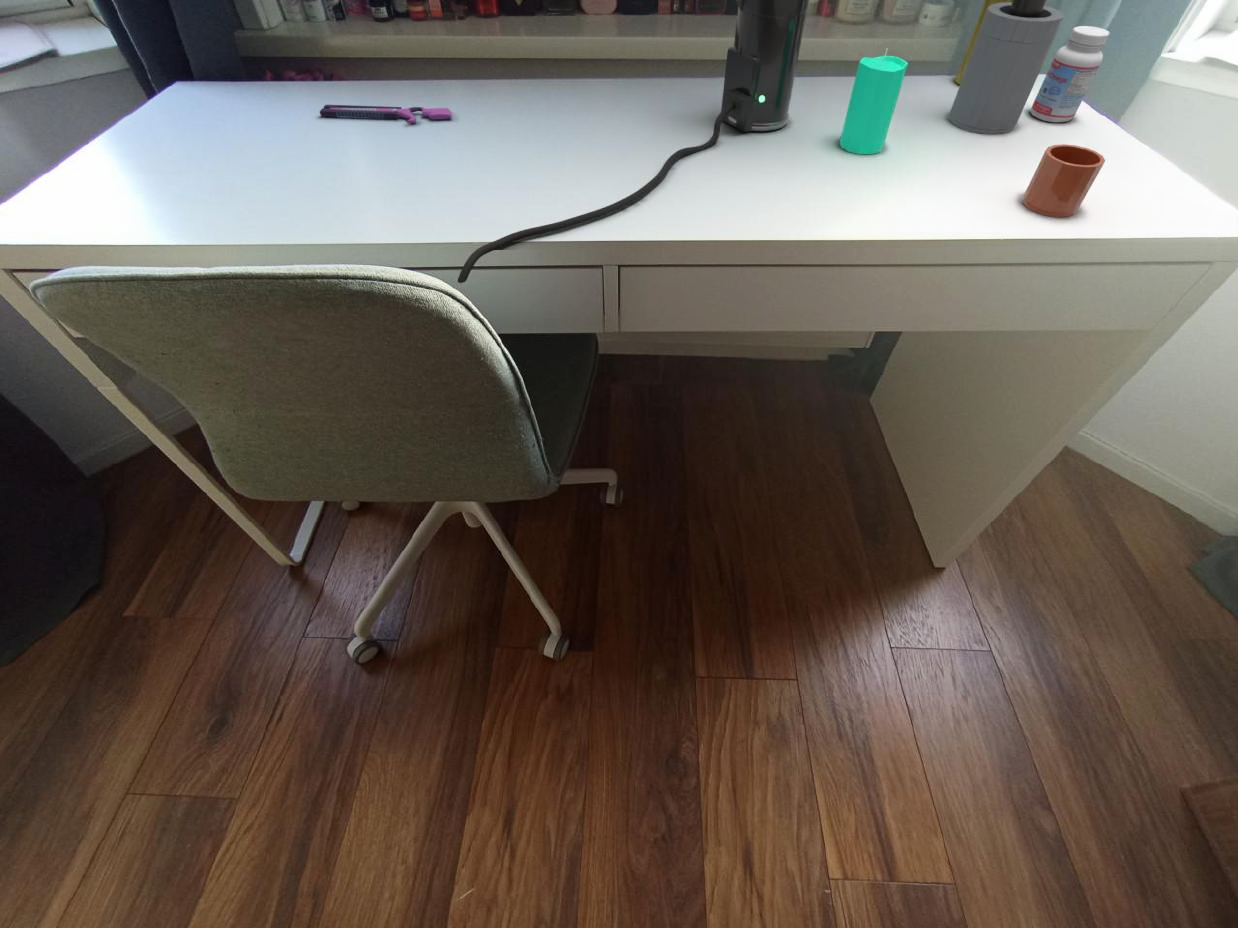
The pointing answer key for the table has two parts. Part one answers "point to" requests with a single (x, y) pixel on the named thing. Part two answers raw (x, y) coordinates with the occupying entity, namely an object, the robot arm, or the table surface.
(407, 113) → the pink toy gun
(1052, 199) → the holder
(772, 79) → the robot arm
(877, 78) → the candle
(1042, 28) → the gray cylindrical container
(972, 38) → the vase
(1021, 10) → the bottle brush
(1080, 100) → the pill bottle
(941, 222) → the table surface
